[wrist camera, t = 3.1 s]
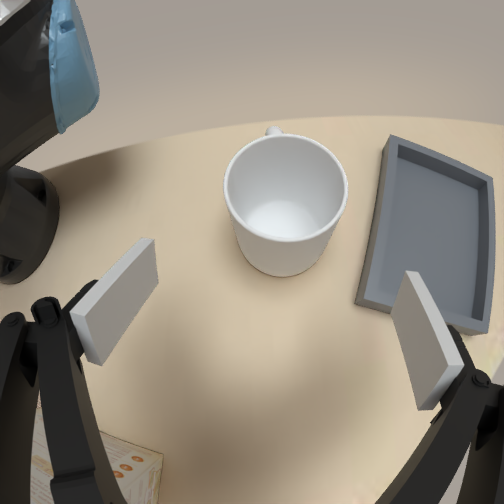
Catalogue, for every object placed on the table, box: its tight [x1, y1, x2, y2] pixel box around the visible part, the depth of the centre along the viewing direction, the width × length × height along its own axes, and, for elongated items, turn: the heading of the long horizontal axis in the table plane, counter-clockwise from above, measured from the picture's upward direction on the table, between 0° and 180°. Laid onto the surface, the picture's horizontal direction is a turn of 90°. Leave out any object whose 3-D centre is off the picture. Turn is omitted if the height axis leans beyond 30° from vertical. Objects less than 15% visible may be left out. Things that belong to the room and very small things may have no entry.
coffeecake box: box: [30, 408, 163, 504], centre depth 14 cm, size 15×7×20 cm, turn 80°
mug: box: [223, 126, 348, 277], centre depth 25 cm, size 12×8×10 cm
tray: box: [355, 134, 495, 336], centre depth 27 cm, size 14×18×3 cm
